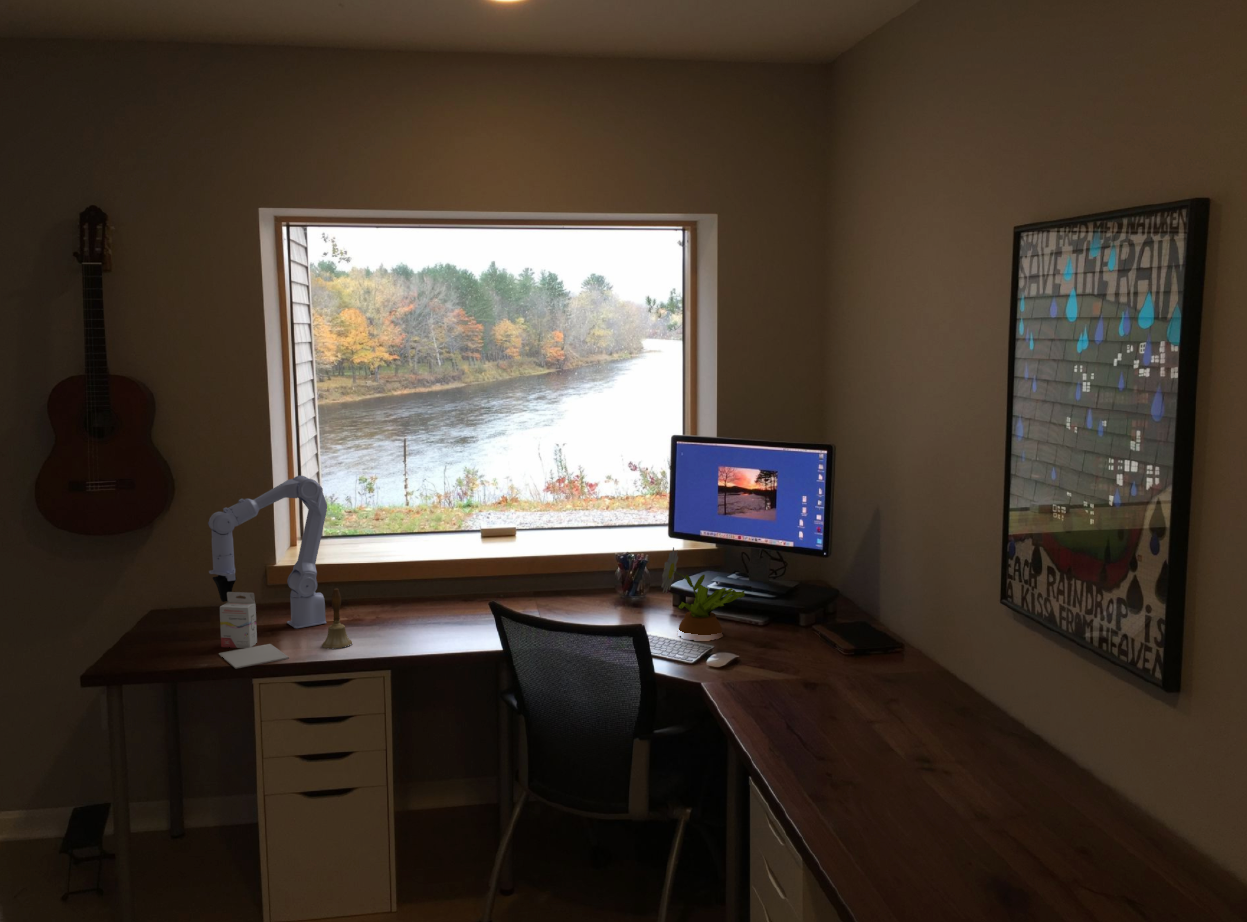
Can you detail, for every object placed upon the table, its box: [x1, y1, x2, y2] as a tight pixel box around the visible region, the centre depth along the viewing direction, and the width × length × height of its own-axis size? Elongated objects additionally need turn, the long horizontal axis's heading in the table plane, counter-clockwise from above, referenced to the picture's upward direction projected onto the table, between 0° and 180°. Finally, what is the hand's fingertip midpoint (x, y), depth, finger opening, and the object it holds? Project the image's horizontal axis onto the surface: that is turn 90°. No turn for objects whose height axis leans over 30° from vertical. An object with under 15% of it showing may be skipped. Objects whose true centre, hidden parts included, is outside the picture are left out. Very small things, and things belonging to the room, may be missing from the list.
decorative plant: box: [660, 547, 746, 635], centre depth 298 cm, size 27×24×25 cm
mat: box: [218, 643, 290, 670], centre depth 283 cm, size 14×15×1 cm
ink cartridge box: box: [219, 591, 258, 649], centre depth 292 cm, size 9×5×15 cm, turn 84°
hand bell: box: [321, 588, 353, 650], centre depth 292 cm, size 8×8×16 cm
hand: (225, 600), depth 301 cm, fingers closed
